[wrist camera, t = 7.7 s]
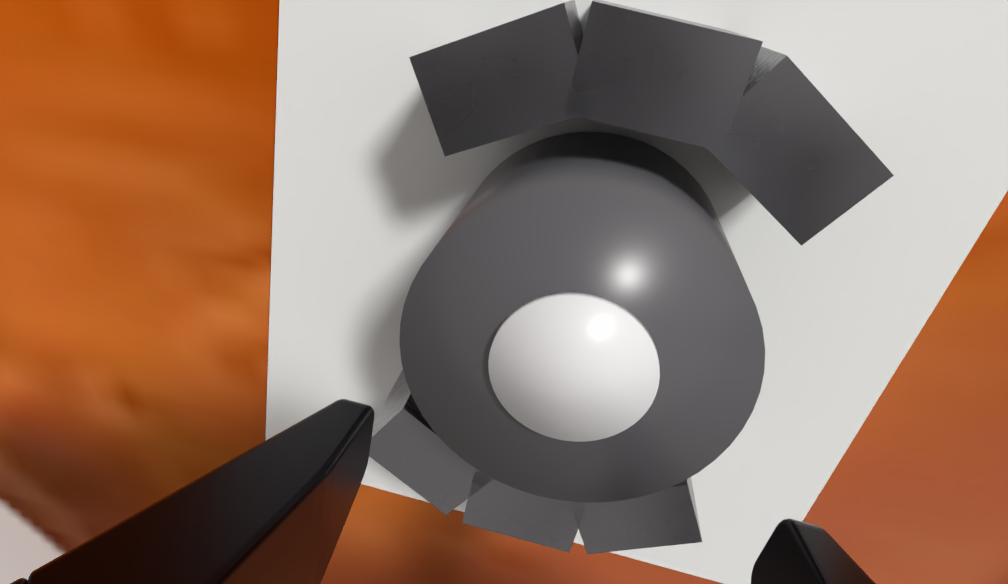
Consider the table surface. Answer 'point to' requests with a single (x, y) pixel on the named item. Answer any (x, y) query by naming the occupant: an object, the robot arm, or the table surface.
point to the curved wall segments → (645, 108)
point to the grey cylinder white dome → (584, 324)
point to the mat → (746, 223)
